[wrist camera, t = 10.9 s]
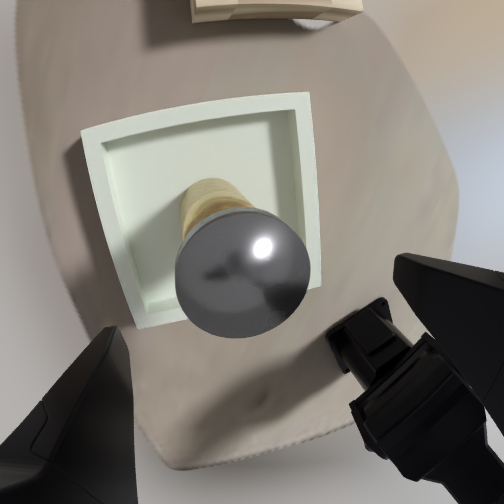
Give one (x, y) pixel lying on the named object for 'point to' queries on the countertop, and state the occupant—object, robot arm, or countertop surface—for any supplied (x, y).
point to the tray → (191, 171)
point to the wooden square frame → (274, 9)
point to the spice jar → (236, 263)
